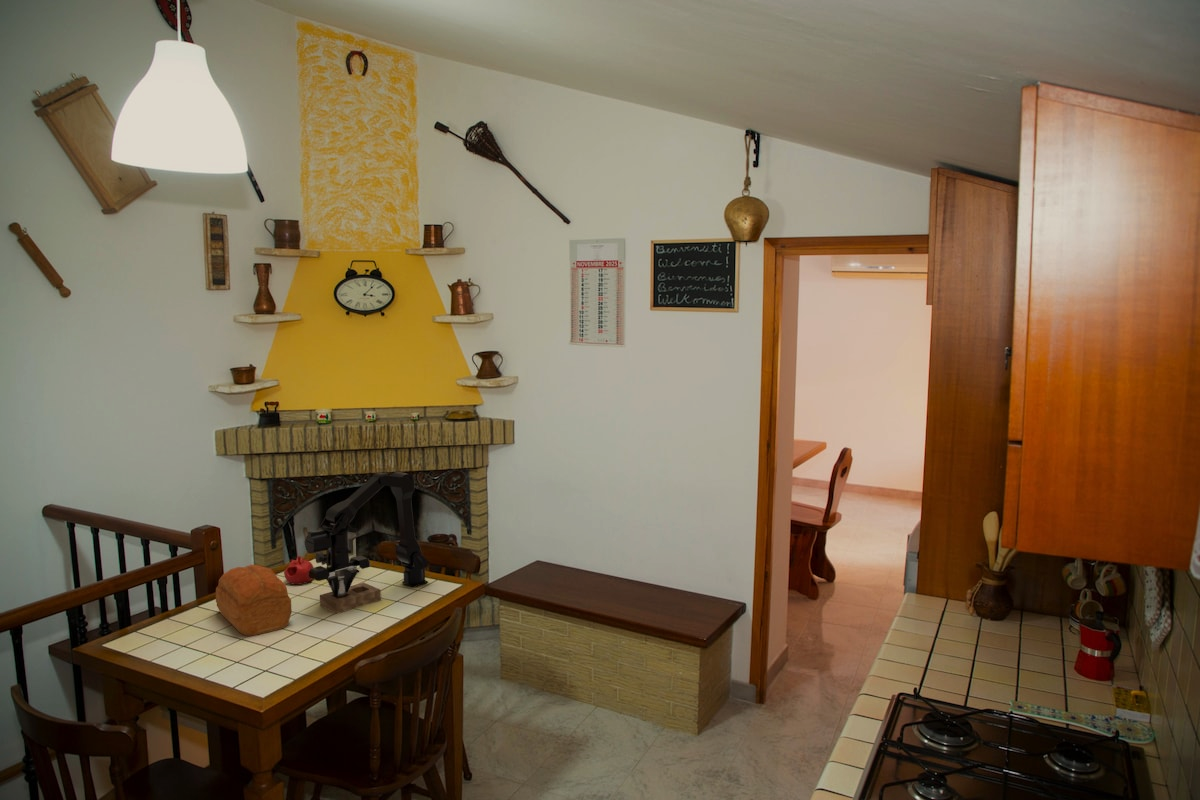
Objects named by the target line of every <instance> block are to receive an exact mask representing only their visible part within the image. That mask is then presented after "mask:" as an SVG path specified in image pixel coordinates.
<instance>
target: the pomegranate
mask: <svg viewBox="0 0 1200 800" xmlns="http://www.w3.org/2000/svg"><path fill="white" fill-rule="evenodd" d="M301 557H302V556H301V555H297V557H296V560H294V559H289V560H288V562H290V563H289V564H288V566H287V568H285V570H283V574H284V578H285V580H286V581H287V582H288V583H290V584H292V585H303V584H306V583H309V582H311V581H312V580H313V579H312V578H310V577H309V570H310V569H311V568H314V565H313V563H312V562H311V561H312V560H311V559H306V557H302V558H301Z"/></svg>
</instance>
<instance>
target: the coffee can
mask: <svg viewBox="0 0 1200 800" xmlns="http://www.w3.org/2000/svg"><path fill="white" fill-rule="evenodd" d="M356 537H357V535H356V533H355V532H353V531H350V532H348V544H349V549H350V550H351V553H349V561H350V559H351V558H353V557H356V556H357V546H356V545H357V543H356V542H357V540H356ZM329 549H330V548H329ZM327 551H328V550H325V552H326V553H325V554H327ZM328 567H330V565H329V566H328V565H326V568H328ZM335 576H337V577H338V578H344V573H343V570H341V571H337V572H335Z"/></svg>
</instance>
